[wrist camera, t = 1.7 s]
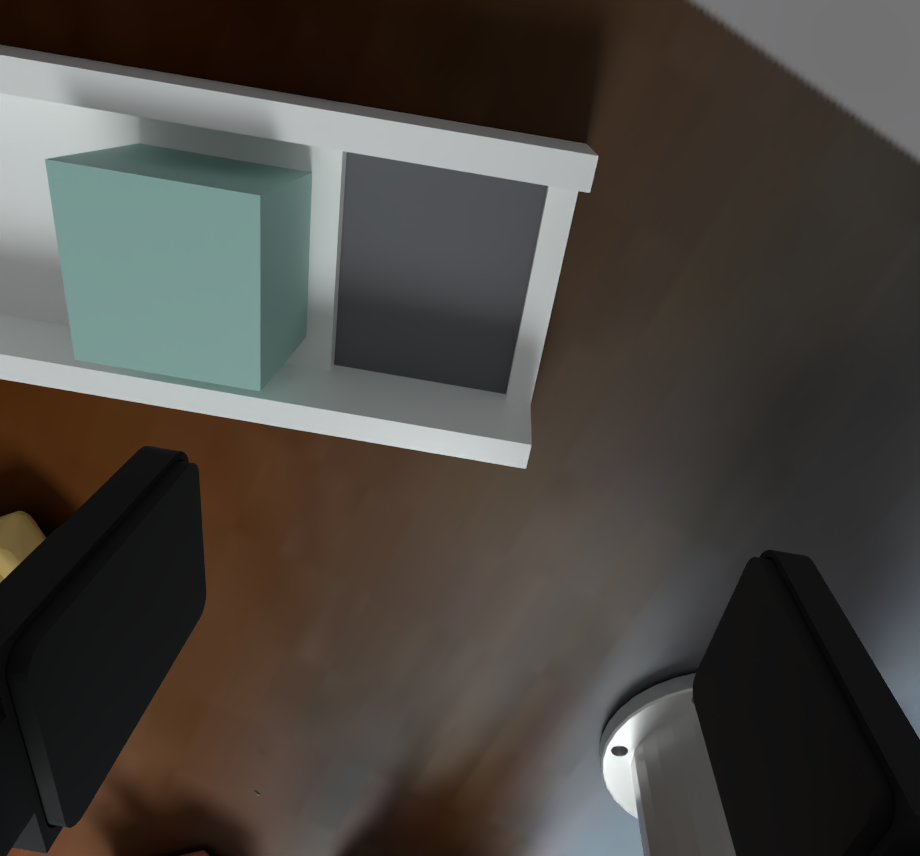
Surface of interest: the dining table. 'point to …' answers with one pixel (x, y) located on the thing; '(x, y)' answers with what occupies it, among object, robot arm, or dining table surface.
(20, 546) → the figurine with sign
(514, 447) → the trough
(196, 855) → the pink cube
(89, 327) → the green block
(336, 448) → the dining table surface
